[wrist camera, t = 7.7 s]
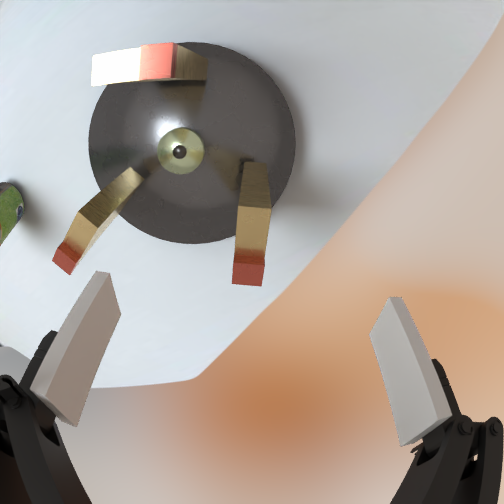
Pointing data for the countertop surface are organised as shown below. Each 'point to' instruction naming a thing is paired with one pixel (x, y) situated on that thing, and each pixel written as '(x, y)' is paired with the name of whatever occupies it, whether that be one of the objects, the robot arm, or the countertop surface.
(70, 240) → the knob
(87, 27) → the countertop surface
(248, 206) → the knob
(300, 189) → the countertop surface
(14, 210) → the beverage can
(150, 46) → the knob
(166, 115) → the tribrach plate
